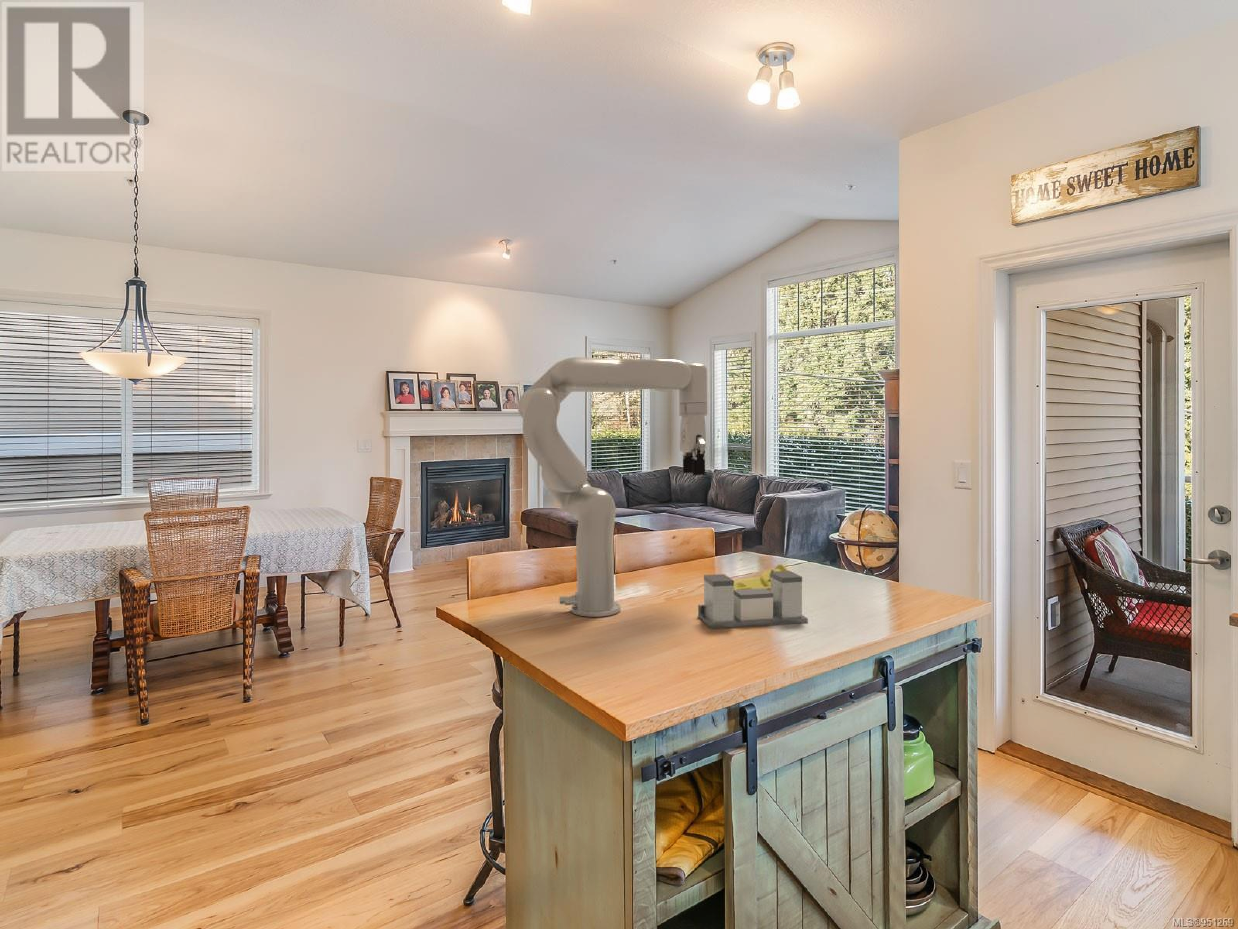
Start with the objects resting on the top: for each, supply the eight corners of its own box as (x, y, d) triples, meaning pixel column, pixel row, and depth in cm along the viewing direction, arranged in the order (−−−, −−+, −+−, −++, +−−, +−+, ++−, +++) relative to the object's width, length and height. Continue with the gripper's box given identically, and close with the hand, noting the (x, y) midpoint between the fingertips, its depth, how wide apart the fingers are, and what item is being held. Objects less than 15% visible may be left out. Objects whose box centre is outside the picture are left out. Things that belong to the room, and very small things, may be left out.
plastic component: (737, 594, 176) (719, 571, 184) (732, 615, 180) (715, 592, 188) (799, 581, 183) (779, 560, 191) (793, 602, 186) (774, 580, 195)
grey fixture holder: (710, 628, 153) (710, 582, 152) (698, 617, 163) (697, 573, 162) (807, 622, 157) (807, 577, 156) (789, 611, 167) (789, 569, 166)
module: (740, 620, 156) (740, 595, 155) (733, 614, 161) (733, 590, 160) (773, 618, 157) (773, 593, 157) (765, 612, 162) (765, 588, 162)
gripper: (671, 411, 186) (672, 472, 186) (688, 409, 168) (688, 476, 169) (697, 411, 187) (698, 471, 188) (716, 409, 170) (717, 475, 171)
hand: (693, 473), depth 178 cm, fingers open, 9 cm apart
